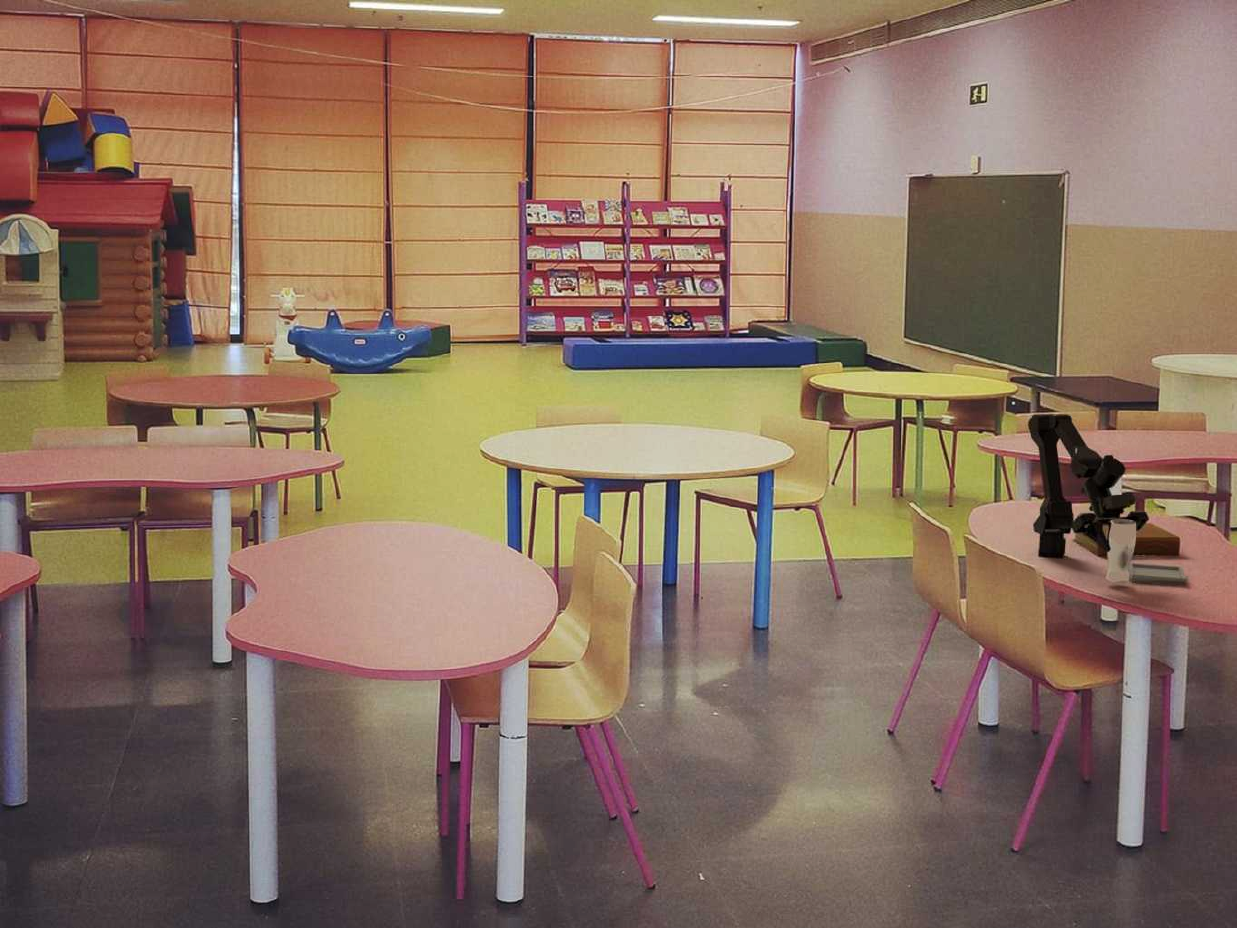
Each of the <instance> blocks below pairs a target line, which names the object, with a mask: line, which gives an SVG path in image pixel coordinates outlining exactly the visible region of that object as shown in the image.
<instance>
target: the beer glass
mask: <svg viewBox="0 0 1237 928" xmlns="http://www.w3.org/2000/svg"><path fill="white" fill-rule="evenodd" d="M1106 539H1107V543H1108V546H1109V548H1110V551H1109V552H1107V556H1106V557H1107V568H1106V569H1107V570H1106V573H1105V576H1104V577H1105V580H1106V581H1108V582H1111V583H1119V584H1120V583H1121V584H1126V583H1129V582H1131V576H1130V564H1131V563H1132V559H1133V557H1134V556H1133V552H1134V548H1135V542H1136V522H1135V521H1132V520H1127V519H1110V520H1109V521H1108V528H1107V535H1106Z"/></svg>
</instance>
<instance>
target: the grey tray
mask: <svg viewBox="0 0 1237 928" xmlns="http://www.w3.org/2000/svg"><path fill="white" fill-rule="evenodd" d="M1130 576H1131V581H1130V582H1131V583H1135V582H1137V583H1138V584H1150V585H1163V586H1175V585H1180V586H1179V587H1187V576H1186V574H1185V571H1184V569H1183V566H1181V565H1180V566H1178V565H1164V564H1150V563H1135V562H1131V564H1130Z"/></svg>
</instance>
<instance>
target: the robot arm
mask: <svg viewBox="0 0 1237 928" xmlns="http://www.w3.org/2000/svg"><path fill="white" fill-rule="evenodd" d="M1027 427H1028V430H1029V435H1030V438H1031V440H1032V441H1033V442H1034V444H1035V445H1036V446H1037V447H1038V448H1037V449H1038V455H1039V463H1040V470H1041V480H1042V488H1043V496H1044V497H1043V498H1044V499H1043V501H1042V503H1041V505H1040V506H1039V516H1038V517H1037V518H1036V519H1035V521H1034V522H1033V525H1032V526H1033V532H1034V533H1037V534H1039V539H1038V540H1039V542H1038V550H1037V555H1038V557H1049V558H1061V559H1062V558H1064V555H1065V554H1066V543H1067V541H1066V540H1067V539H1066V537H1065V535H1067V534H1068V535H1070V534H1071V532H1072V531H1073V533H1074V534H1075V533H1083V535H1084V536H1088V537H1089V538H1091V539H1092V540H1093V541H1095V542H1096V543H1097V544H1098V545H1099V546H1100V547H1102V548H1103V549H1104V550H1105V551H1106V552H1109V551H1110V548H1109V546H1108V543H1107V539H1106V537H1105V534H1104V532H1103V526H1107V525H1108V521H1109V520H1110V519H1127V520H1132V521H1135V522H1136V531H1138V530H1140V529H1141V528H1142V527H1143V526H1144V525H1145V523H1148V522H1149V521H1150V517H1149V515H1148V513H1147V511H1145V510H1131V511H1130V512H1129V513H1128V514H1127V515H1126V516H1121V515H1123V514H1124V513H1125V509H1128V508H1131V506H1133V505H1135V504H1136V498H1135V494H1134V493H1133V492H1132V491H1126V492H1124V493H1123V494H1113V493H1112V492H1111V489H1113V487H1115V486H1116V485H1117V484H1118V482H1119V480H1120V479H1121V478H1122V477H1123V476H1124V474H1125V473H1126V467H1125V465H1124V464H1123V463H1122V462H1121V461H1120V460H1119V459H1117V458H1115V457H1114V456H1113V454H1105V455H1104V456H1103V458H1102V456H1101V455H1100V454H1099V453H1098V452H1097V451H1095V450H1094V449H1092V448H1090V447H1089V446H1088V445H1087V444H1086V442H1085V440H1084V439H1083V437H1082V436H1081V434H1080V433H1079V431H1078V429H1077V428H1076V426H1075V425H1074V423H1073V419H1072V416H1071V415H1070V414H1067V413H1063V414H1061V413H1060V414H1059V413H1058V414H1056V413H1041V414H1040V413H1038V414H1037V413H1035V414H1033V415H1031V417H1030V418H1029V419H1028V422H1027ZM1059 441H1061V443H1062V445H1063V447H1064V448H1065V450H1066V452H1067V453H1068V454H1069V456H1070V460H1071V461H1070V465H1069V466H1070V467H1071V470H1072V473H1073V475H1074V477H1075V478H1077V479H1087V480H1086V481H1084V482H1083V484H1082V487H1081V489H1080V492H1081V494H1086V496H1087V499H1088V500H1089V504H1090V506H1089V507H1088V510H1089V512H1080V513H1079V514H1078V515H1077V516H1076V517H1075V518H1074V513H1073V503H1072V501H1071V500H1067V499H1066V498H1065V496H1064V492H1063V483H1062V477H1061V476H1062V475H1061V467H1060V459H1059V452H1058V451H1059V450H1058V443H1059ZM1134 550H1135V548H1134Z"/></svg>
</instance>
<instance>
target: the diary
mask: <svg viewBox="0 0 1237 928" xmlns="http://www.w3.org/2000/svg"><path fill="white" fill-rule="evenodd" d="M1107 528H1108V525H1107V526H1103V532H1104V534H1105V537H1106V535H1107ZM1074 534H1075V536H1074V537H1075V538H1074V539H1071V541H1072V540H1073V541H1074V542H1076V543H1077V544H1076V543H1075V544H1076V545H1078V544H1079V545H1080V547H1081V546H1082V547H1081V548H1083V547H1084V548H1086V549H1087V550H1086V549H1085V550H1086V551H1088V550H1089V551H1090V552H1089V551H1088V552H1089V553H1091V552H1092V553H1091V554H1093V555H1094V556H1097V557H1107V552H1106V551H1105V550H1104V549H1103V548H1102V547H1100V546H1099V545H1098V544H1097V543H1096V542H1095V541H1093V540H1092V539H1091V538H1089V537H1088V536H1084V535H1083V533H1074ZM1073 541H1072V542H1073ZM1074 542H1073V543H1074ZM1079 545H1078V546H1079ZM1180 546H1181V539H1180V537H1179V535H1176V534H1173V533H1172V532H1170V531H1168V530H1166V529H1164V528H1162V527H1160V526H1158V525H1156V524H1153V522H1152V523H1151V522H1146V523H1145V525H1144V526H1143V527H1142V528H1141V529H1140V530H1138V531H1136V542H1135V550H1134V552H1133V555H1139V556H1138V557H1143V556H1142V555H1145V557H1146V556H1147V557H1148V556H1150V555H1151V557H1153V556H1152V555H1156V556H1157V557H1159V556H1160V555H1161V556H1162V555H1175V556H1179V555H1180V548H1181V547H1180ZM1084 548H1083V549H1084ZM1156 556H1155V557H1156ZM1161 556H1160V557H1161Z"/></svg>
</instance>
